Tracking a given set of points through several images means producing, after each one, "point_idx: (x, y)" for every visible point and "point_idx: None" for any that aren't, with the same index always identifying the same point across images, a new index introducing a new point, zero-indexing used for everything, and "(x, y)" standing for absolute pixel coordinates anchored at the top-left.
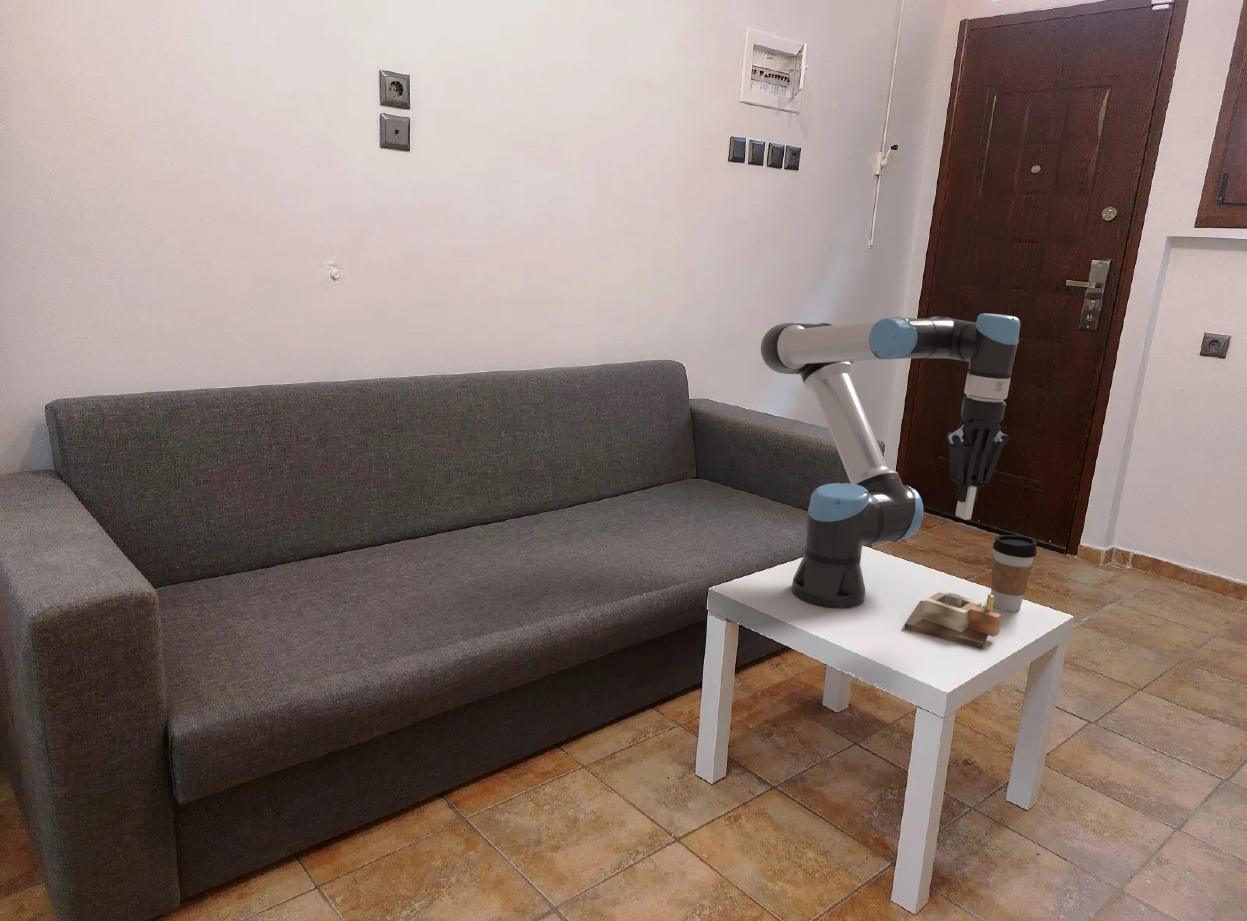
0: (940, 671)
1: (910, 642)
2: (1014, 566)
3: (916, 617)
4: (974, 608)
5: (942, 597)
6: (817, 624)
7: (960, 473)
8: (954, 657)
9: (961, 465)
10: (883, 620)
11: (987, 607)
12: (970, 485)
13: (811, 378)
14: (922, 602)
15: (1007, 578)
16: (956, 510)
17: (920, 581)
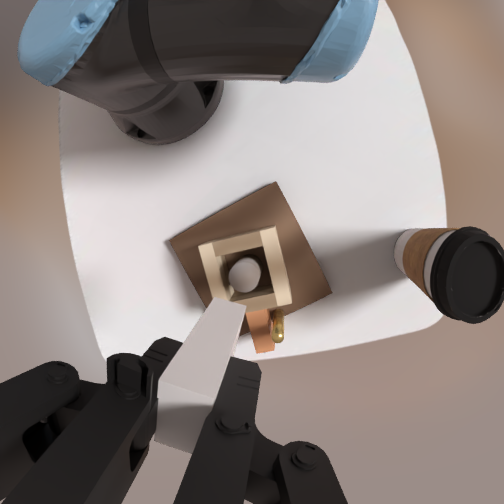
0: (128, 342)
1: (148, 275)
2: (428, 293)
3: (205, 232)
4: (253, 314)
5: (246, 249)
6: (83, 177)
7: (35, 453)
8: (170, 332)
9: (3, 483)
10: (168, 201)
11: (272, 327)
12: (188, 428)
13: None
14: (271, 189)
15: (414, 277)
16: (208, 307)
17: (373, 108)
